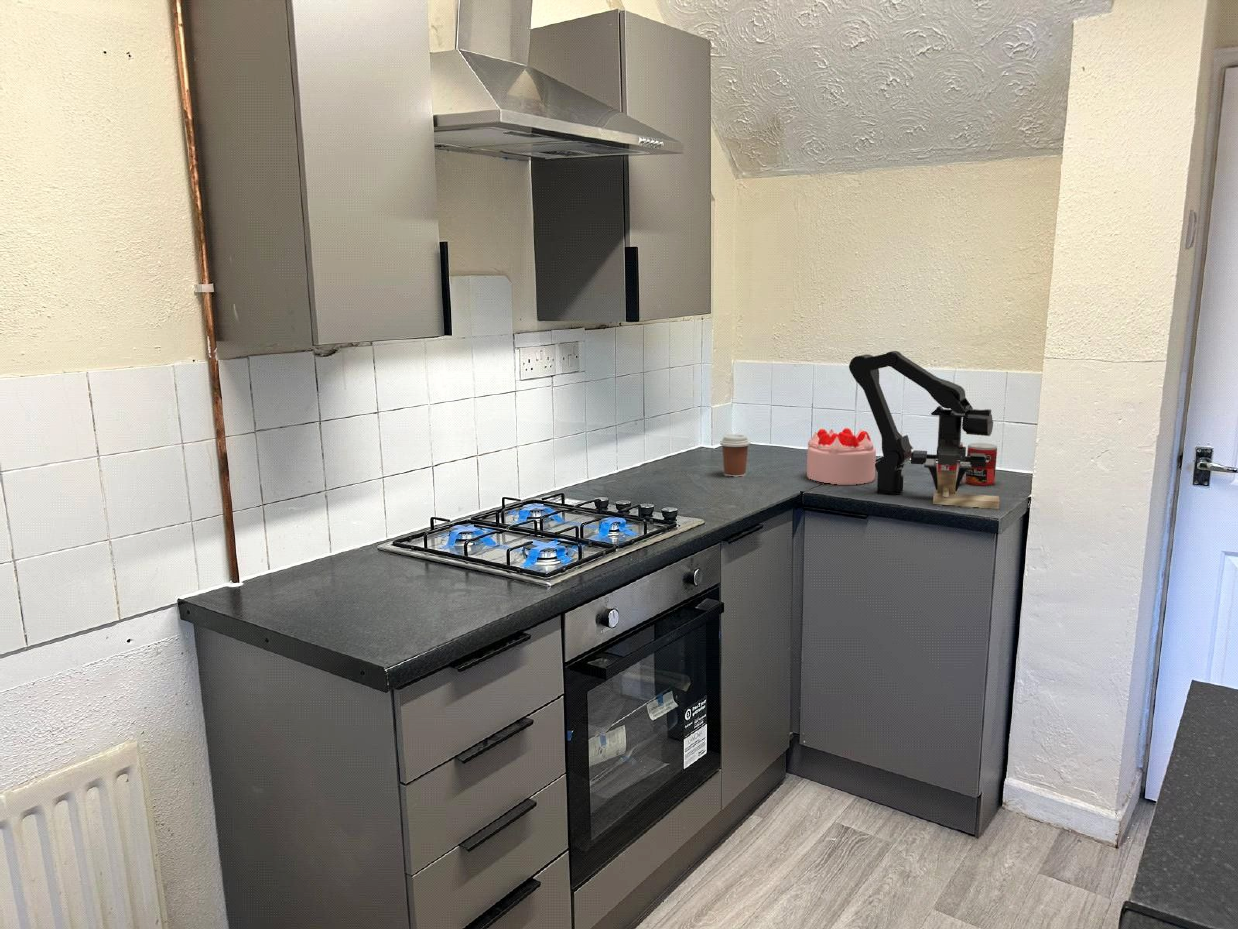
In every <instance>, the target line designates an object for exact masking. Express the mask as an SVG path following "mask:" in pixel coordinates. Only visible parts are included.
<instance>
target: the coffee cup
mask: <svg viewBox="0 0 1238 929" xmlns="http://www.w3.org/2000/svg"><path fill="white" fill-rule="evenodd" d="M722 438H723V439H721V441H720V442H719V445H720V446H722V449H721V450H722V460H723V461H722V462H723V475H724V476H725V477H727V476H743V477H745V476H746V475H747V474H746V473H747V460H748V452H749V446H750V445H751V441H750V440H749V439H748V436H747V435H745V434H725V435H723V437H722Z"/></svg>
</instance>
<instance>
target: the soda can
mask: <svg viewBox="0 0 1238 929" xmlns="http://www.w3.org/2000/svg"><path fill="white" fill-rule="evenodd" d="M960 447H964V443H963V442H962V441H961V443H960ZM959 465H960V463H957V465H956V466H951V465H939V464H938V463H937V477H938V471H939V470H952V471H956V480H957V475H958V470H959ZM963 478H964V476H963V477H962V480H961V482H960V484H962V483H963Z"/></svg>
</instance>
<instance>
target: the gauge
mask: <svg viewBox="0 0 1238 929" xmlns="http://www.w3.org/2000/svg"><path fill="white" fill-rule="evenodd" d="M955 487H956V471H952V470H939V471H938V487H937V490H936V493H943V497H949V493H953V494H956V491H955Z"/></svg>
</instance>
